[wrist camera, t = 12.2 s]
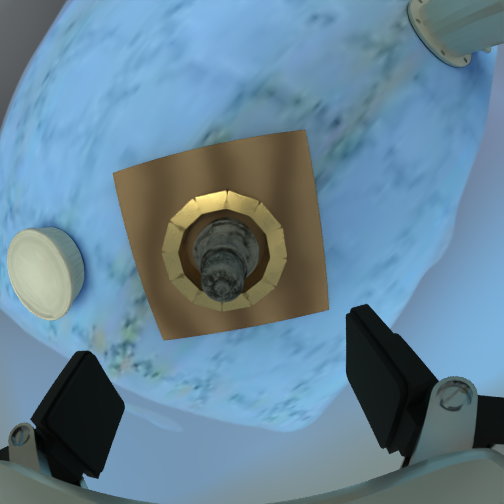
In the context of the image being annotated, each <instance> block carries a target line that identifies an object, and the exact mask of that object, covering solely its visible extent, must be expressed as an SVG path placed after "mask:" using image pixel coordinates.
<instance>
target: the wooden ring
mask: <svg viewBox="0 0 504 504" xmlns="http://www.w3.org/2000/svg"><path fill="white" fill-rule="evenodd" d="M222 209H229V210H232V211H235V212H239V213H242V214H245V215H248V216H250V217H251V218H252V219H253V220H254V221H255V222H256V223H257V225H258V226H259V227H260V228H261V229H262V230H263V233H264V238H265V244H266V249H265V252H264V254H263V257H262V260H261V262H260V265H259V267H257V268H256V269H255V270H254V271H253V272H252V273H251V274H250V275H249V276H248V277H246V278H245V280H244V287H243V290H242V292H241V294H240V295H239V296H238V297H237V298H236V299H234V300H232V301H229V302H217V301H214V300H212V299H211V298H209V297H208V296H207V295H206V294H205V292H204V291H203V288H202V286H201V276H202V274H201V273H200V272H199V271H198V270H197V269H196V268H195V267H194V266H193V265H192V264H191V263H190V261H189V257H188V254H187V250H186V246H185V240H186V236H187V233H188V230H189V226H190V224H191V223H192V222H193V221H195V220H196V219H197V218H198V217H199V216H200V215H201V214H203V213H208V212H212V211H217V210H222ZM162 251H163V252H162V256H163V259H164V263H165V266H166V269H167V273H168V276H169V279H170V280H172V282H171V283H172V284H173V285H174V286H175V287H176V288H177V289H178V290H179V291H180V292H181V293H182V294H183V295H184V296H185V297H186V298H188V299H189V300H190V301H191V302H192V301H193V300H194V304H197V305H200V306H204V307H207V308H210V309H214V310H217V311H221V309H222V310H223V312H224V311H229V310H235V309H240V308H245V307H250V306H251V305H250V303H251V304H252V305H254V304H255V303H257V302H258V301H259V300H260V299H262V298H263V297H264V296H266V295H267V294H268V293H269V292H271V291H272V290H273V289H274V288H275V287H274V285H275V286H277V283H278V281H279V278H280V276H281V273H282V271H283V268H284V266H285V263H286V261H287V259H286V257H287V252H286V246H285V240H284V234H283V228H282V227H281V225H280V224H279V222H278V221H277V220H276V219H275V218H274V217H273V215H272V214H271V213H270V212H269V211H268V210H267V208H266V207H265V206H264V205H263V204H262V203H261V201H260V200H259V199H257V198H256V197H254V196H251V195H248V194H245V193H242V192H239V191H236V190H233V189H229V192H228V190H227V189H222V190H217V191H213V192H208V193H204V194H200V195H198V196H196V197H195V198H193V199H192V200H191V201H190V202H189V203H187V204H186V205H185V206H184V207H183V208H182V209H181V210H180V211H179V212H178V213H177V214H176V215H175V216H174V217H173V218H172V219H171V221H170V222H169V224H168V228H167V232H166V236H165V239H164V243H163V247H162Z"/></svg>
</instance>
